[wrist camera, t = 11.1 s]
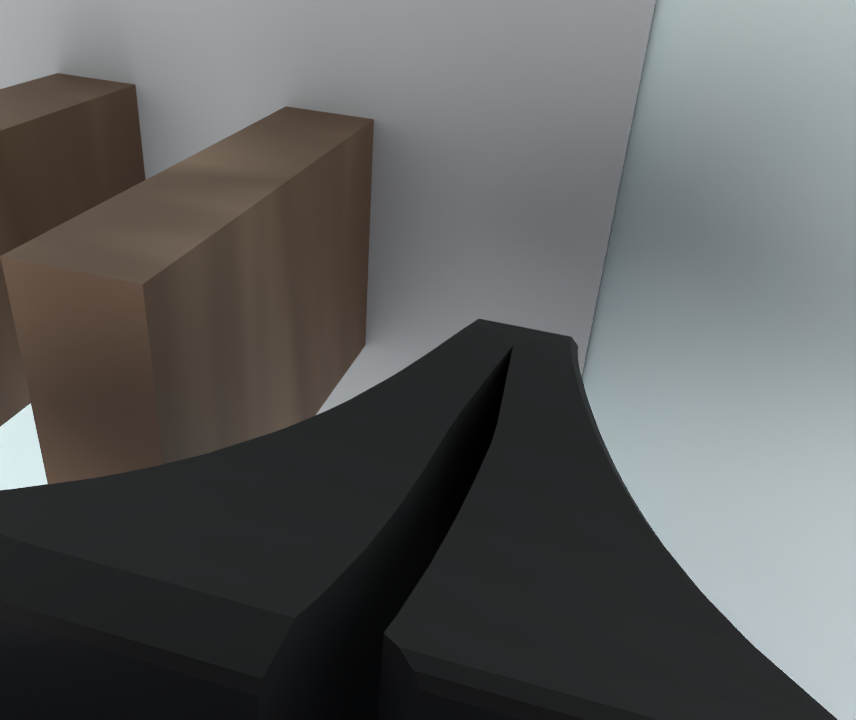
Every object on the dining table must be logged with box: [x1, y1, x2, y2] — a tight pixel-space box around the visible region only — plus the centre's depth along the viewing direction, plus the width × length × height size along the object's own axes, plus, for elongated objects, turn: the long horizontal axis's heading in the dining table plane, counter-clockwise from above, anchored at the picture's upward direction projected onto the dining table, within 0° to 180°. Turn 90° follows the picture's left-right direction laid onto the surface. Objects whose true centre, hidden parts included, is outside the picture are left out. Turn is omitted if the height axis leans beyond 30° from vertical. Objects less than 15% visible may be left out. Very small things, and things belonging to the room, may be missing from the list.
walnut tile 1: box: [0, 106, 374, 484], centre depth 12 cm, size 2×4×7 cm, turn 176°
